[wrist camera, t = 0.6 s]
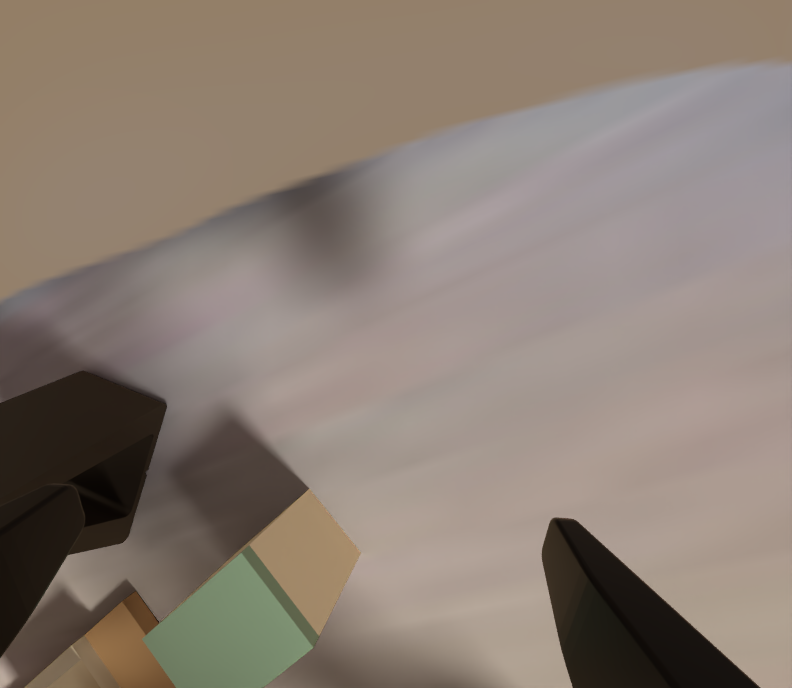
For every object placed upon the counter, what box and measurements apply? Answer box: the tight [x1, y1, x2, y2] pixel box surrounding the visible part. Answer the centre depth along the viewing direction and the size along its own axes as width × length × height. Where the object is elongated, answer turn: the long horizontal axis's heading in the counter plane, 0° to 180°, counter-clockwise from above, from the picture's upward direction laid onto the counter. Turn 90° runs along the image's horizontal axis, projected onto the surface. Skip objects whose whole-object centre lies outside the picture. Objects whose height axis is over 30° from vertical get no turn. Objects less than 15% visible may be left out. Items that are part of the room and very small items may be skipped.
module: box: [142, 489, 361, 688], centre depth 19 cm, size 4×6×7 cm
